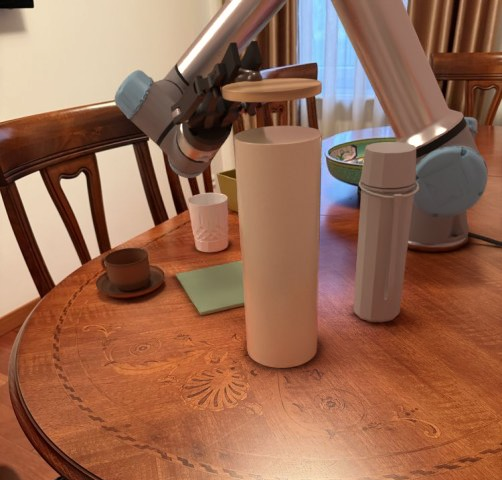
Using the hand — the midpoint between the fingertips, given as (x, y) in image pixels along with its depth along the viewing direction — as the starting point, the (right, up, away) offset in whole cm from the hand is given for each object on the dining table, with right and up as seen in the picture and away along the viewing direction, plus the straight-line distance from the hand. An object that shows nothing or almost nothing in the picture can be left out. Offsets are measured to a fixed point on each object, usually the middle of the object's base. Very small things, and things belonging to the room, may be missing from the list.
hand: (246, 53), depth 62 cm
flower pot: (-1, -3, +64) cm, 64 cm away
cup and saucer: (-21, -25, +31) cm, 45 cm away
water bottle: (+20, -31, +19) cm, 41 cm away
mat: (-3, -25, +30) cm, 39 cm away
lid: (+1, -4, 0) cm, 4 cm away
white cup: (-7, -15, +46) cm, 49 cm away
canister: (+5, -35, +12) cm, 38 cm away
